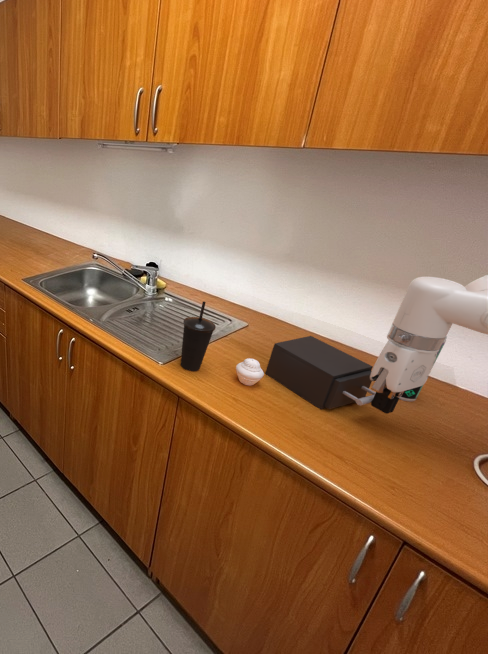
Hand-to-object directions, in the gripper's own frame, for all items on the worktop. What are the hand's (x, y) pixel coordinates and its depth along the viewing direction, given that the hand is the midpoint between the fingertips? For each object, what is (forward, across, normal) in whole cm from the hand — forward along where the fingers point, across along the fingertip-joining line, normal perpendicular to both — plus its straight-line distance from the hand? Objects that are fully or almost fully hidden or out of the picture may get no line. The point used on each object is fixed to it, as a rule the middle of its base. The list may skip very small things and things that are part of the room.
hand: (381, 408), depth 87 cm
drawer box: (+5, 0, +14) cm, 15 cm away
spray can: (+5, +18, +5) cm, 19 cm away
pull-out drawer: (+4, 0, +11) cm, 11 cm away
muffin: (+5, -14, +20) cm, 25 cm away
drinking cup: (+5, -23, +30) cm, 38 cm away
